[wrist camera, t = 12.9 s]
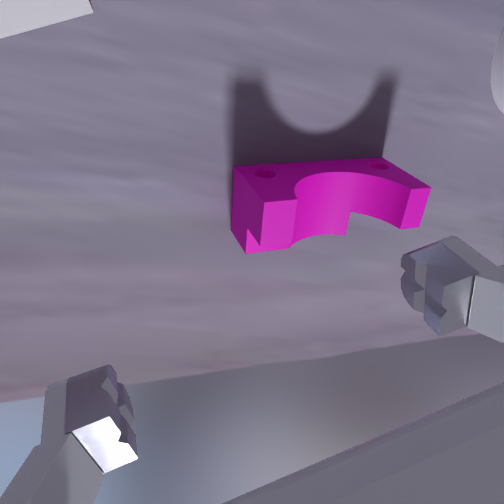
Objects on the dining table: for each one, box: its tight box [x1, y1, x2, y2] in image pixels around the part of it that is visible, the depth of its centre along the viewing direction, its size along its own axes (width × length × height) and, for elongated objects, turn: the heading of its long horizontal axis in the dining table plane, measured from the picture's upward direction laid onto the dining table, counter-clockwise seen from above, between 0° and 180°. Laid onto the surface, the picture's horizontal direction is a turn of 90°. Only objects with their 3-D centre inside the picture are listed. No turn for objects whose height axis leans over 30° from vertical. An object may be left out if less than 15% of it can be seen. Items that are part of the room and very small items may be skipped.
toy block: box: [231, 157, 431, 254], centre depth 39 cm, size 15×6×8 cm, turn 86°
